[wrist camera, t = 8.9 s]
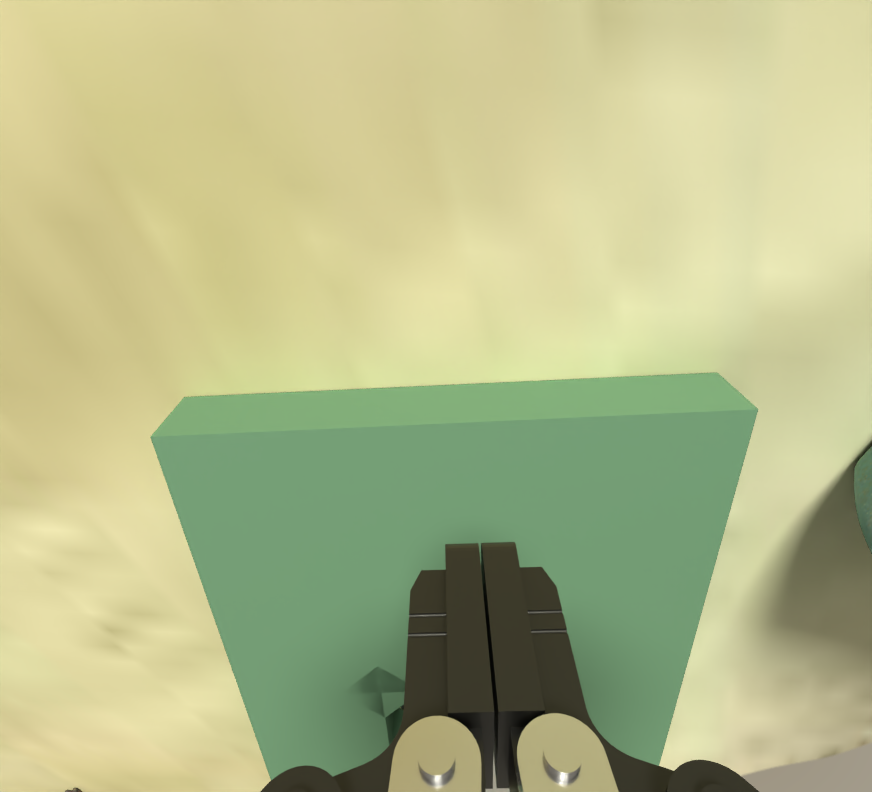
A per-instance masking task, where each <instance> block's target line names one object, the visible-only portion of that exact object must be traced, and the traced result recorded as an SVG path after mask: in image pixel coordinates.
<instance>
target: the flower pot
mask: <svg viewBox="0 0 872 792" xmlns="http://www.w3.org/2000/svg"><path fill="white" fill-rule="evenodd" d="M854 494H855V505H856V511H857V515H858V519H859V523H860V526H861V529H862V532H863V535H864V537H865V540H866V542H867V545H868V547H869V549H870V551H871V553H872V446H871V448H870V449H869V450H868V451H867V452H866V453H865V454H864V455H863V456H862V457H861V458H860V460H859V461H858V462H857V464H856V466H855V469H854Z"/></svg>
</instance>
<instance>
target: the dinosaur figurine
mask: <svg viewBox="0 0 872 792" xmlns="http://www.w3.org/2000/svg"><path fill="white" fill-rule="evenodd" d="M65 792H81V791H80V790H79V789H77V788H73V790H72V791H70V790H66V791H65Z"/></svg>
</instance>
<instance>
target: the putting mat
mask: <svg viewBox="0 0 872 792" xmlns="http://www.w3.org/2000/svg"><path fill="white" fill-rule="evenodd" d="M757 412H758V409H757V408H756V407H755V406H754V405H753V404H752V403H751V402H750V401H748V400H747V399H746V398H745V397H744V396H743V395H742V394H741V393H739V392H738V391H737V390H736V389H735V388H734V387H733V386H732V385H730V384H729V383H728V382H727V381H726V380H725V379H724V378H723V377H722V376H720V375H719V374H718V373H699V374H677V375H655V376H633V377H612V378H590V379H568V380H546V381H525V382H503V383H481V384H459V385H438V386H416V387H394V388H372V389H351V390H329V391H307V392H285V393H264V394H242V395H220V396H198V397H184V398H183V399H182V401H181V402H180V403H179V404H178V405H177V406H176V408H175V409H174V410H173V411H172V412H171V413H170V415H169V416H168V417H167V418H166V419H165V420H164V422H163V423H162V424H161V425H160V426H159V428H158V429H157V430H156V431H155V432H154V433H153V435H152V436H151V440H152V443H153V445H154V448H155V451H156V454H157V457H158V460H159V462H160V465H161V468H162V471H163V474H164V477H165V480H166V482H167V485H168V488H169V491H170V494H171V497H172V499H173V502H174V505H175V508H176V511H177V514H178V517H179V519H180V522H181V525H182V528H183V531H184V534H185V536H186V539H187V542H188V545H189V548H190V551H191V554H192V556H193V559H194V562H195V565H196V568H197V571H198V573H199V576H200V579H201V582H202V585H203V588H204V591H205V593H206V596H207V599H208V602H209V605H210V608H211V610H212V613H213V616H214V619H215V622H216V625H217V628H218V630H219V633H220V636H221V639H222V642H223V645H224V647H225V650H226V653H227V656H228V659H229V662H230V665H231V667H232V670H233V673H234V676H235V679H236V682H237V684H238V687H239V690H240V693H241V696H242V699H243V702H244V704H245V707H246V710H247V713H248V716H249V719H250V721H251V724H252V727H253V730H254V733H255V736H256V739H257V741H258V744H259V747H260V750H261V753H262V756H263V758H264V761H265V764H266V767H267V770H268V773H269V776H270V778H271V780H273V779H274V778H275V777H276V776H278V775H279V774H281V773H282V772H284V771H286V770H288V769H291V768H294V767H297V766H304V765H306V766H315V767H319V768H321V769H323V770H325V771H327V772H328V773H329V774H330V775H332V777H333V776H335V775H338V774H340V773H343V772H345V771H348V770H350V769H353V768H355V767H358V766H360V765H363V764H365V763H367V762H369V761H371V760H373V759H374V758H376V757H377V756H379V755H380V754H381V753H382V752H383V751H385V750H386V749H387V747H388V746H389V745H390V744H391V743H392V741H393V740H394V738H395V736H396V735H397V733H398V730H399V728H400V726H401V722H402V718H403V711H404V693H405V675H406V658H407V640H408V622H409V604H410V590H411V588H412V586H413V585H414V583H415V581H416V579H417V577H418V575H419V574H420V572H421V570H446V564H445V544H462V543H478V544H479V552H480V563H481V543H490V542H515V544H516V548H517V554H518V559H519V565H520V567H542V568H543V569H544V570H545V572H546V573H547V574H548V576H549V577H550V578H551V580H552V581H553V582H554V584H555V585H556V586H557V590H558V594H559V599H560V603H561V607H562V614H563V615H564V619H565V623H566V627H567V634H568V635H569V640H570V644H571V648H572V652H573V656H574V660H575V664H576V668H577V672H578V676H579V680H580V685H581V689H582V693H583V697H584V701H585V705H586V708H587V712H588V715H589V717H590V719H591V721H592V723H593V724H594V726H595V727H596V729H597V730H598V732H599V733H600V734H601V735H602V736H603V737H604V738H605V739H606V740H607V741H608V742H609V743H610V744H611V745H612V746H614V747H615V748H617V749H618V750H620V751H621V752H623V753H625V754H627V755H629V756H631V757H634V758H636V759H639V760H642V761H645V762H648V763H651V764H654V765H657V766H659V763H660V760H661V756H662V753H663V749H664V745H665V742H666V738H667V735H668V731H669V728H670V724H671V720H672V717H673V713H674V710H675V706H676V702H677V699H678V695H679V692H680V688H681V684H682V681H683V677H684V674H685V670H686V667H687V663H688V659H689V656H690V652H691V649H692V645H693V641H694V638H695V634H696V631H697V627H698V623H699V620H700V616H701V613H702V609H703V606H704V602H705V598H706V595H707V591H708V588H709V584H710V580H711V577H712V573H713V570H714V566H715V562H716V559H717V555H718V552H719V548H720V545H721V541H722V537H723V534H724V530H725V527H726V523H727V519H728V516H729V512H730V509H731V505H732V501H733V498H734V494H735V491H736V487H737V484H738V480H739V476H740V473H741V469H742V466H743V462H744V458H745V455H746V451H747V448H748V444H749V440H750V437H751V433H752V430H753V426H754V423H755V419H756V415H757ZM399 707H401V708H402V709H403V710H402V709H400V708H399Z"/></svg>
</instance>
